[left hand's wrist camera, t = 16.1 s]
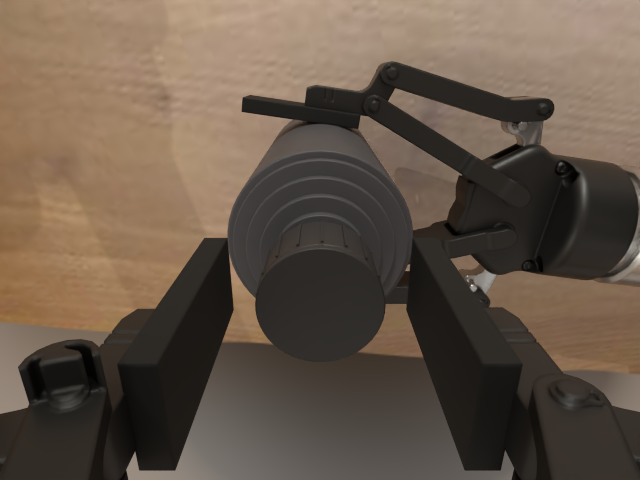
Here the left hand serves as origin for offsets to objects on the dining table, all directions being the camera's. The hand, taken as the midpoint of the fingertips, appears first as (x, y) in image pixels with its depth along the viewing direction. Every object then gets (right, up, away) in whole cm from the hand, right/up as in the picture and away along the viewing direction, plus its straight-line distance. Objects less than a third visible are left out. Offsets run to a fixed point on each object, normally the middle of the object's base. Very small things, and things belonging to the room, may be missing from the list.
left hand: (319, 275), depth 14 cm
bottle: (0, +7, +18) cm, 19 cm away
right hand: (-5, +5, +12) cm, 14 cm away
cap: (0, -1, -2) cm, 2 cm away
